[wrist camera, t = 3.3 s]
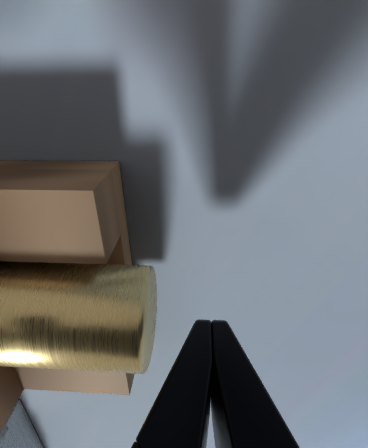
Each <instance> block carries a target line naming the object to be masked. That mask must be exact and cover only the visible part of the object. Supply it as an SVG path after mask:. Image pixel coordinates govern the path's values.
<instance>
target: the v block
mask: <svg viewBox="0 0 368 448" xmlns="http://www.w3.org/2000/svg"><path fill="white" fill-rule="evenodd" d="M0 448H43V446H42V444H41V442H40V439H39V437H38V435H37V433H36V431H35V429H34V427H33V425H32V423H31V421H30V419H29V417H28V415H27V413H26V411H25V409H24V407H23V405H22V403H21V401H20V400H17V402H16V404H15V406H14V408H13V409H12V411H11V413H10V415H9V416H8V418H7V420H6V422H5V424H4V425H3V427H2V429H1V431H0Z"/></svg>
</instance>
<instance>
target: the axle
mask: <svg viewBox="0 0 368 448" xmlns="http://www.w3.org/2000/svg"><path fill="white" fill-rule="evenodd" d="M156 312H157V285H156V276H155V271H154V268H153V267H152V266H147V265H113V264H79V263H45V262H11V261H0V366H6V367H25V368H43V369H62V370H80V371H99V372H117V373H135V374H144V373H145V372H146V371H147V368H148V366H149V362H150V359H151V354H152V349H153V343H154V336H155V326H156Z"/></svg>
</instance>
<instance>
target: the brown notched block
mask: <svg viewBox="0 0 368 448" xmlns="http://www.w3.org/2000/svg"><path fill="white" fill-rule="evenodd" d="M0 261H11V262H45V263H79V264H113V265H132V260H131V252H130V244H129V236H128V228H127V220H126V212H125V204H124V196H123V188H122V180H121V172H120V164H119V161H17V160H0ZM134 374H135V373H117V372H99V371H80V370H62V369H43V368H25V367H6V366H0V431H1V429H2V427H3V425H4V424H5V422H6V420H7V418H8V416H9V415H10V413H11V411H12V409H13V408H14V406H15V404H16V402H17V400H18V399H19V397H20V395H21V393H22V391H23V390H24V389H35V390H52V391H69V392H86V393H103V394H120V395H130V391H131V387H132V383H133V378H134Z"/></svg>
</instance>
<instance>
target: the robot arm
mask: <svg viewBox="0 0 368 448" xmlns="http://www.w3.org/2000/svg"><path fill="white" fill-rule="evenodd" d="M210 401H211V412H212V421H213V430H214V438H215V447H216V448H299V446H298V444H297V442H296V441H295V439H294V437H293V435H292V434H291V432H290V430H289V428H288V427H287V425H286V423H285V421H284V420H283V418H282V416H281V414H280V413H279V411H278V409H277V408H276V406H275V404H274V402H273V401H272V399H271V397H270V395H269V394H268V392H267V390H266V388H265V387H264V385H263V383H262V381H261V380H260V378H259V376H258V375H257V373H256V371H255V369H254V368H253V366H252V364H251V362H250V361H249V359H248V357H247V355H246V354H245V352H244V350H243V348H242V347H241V345H240V343H239V341H238V340H237V338H236V336H235V335H234V333H233V331H232V329H231V328H230V326H229V324H228V323H227V322H226V321H224V320H213V321H212V322H211V321H210V320H196V321H195V323H194V325H193V327H192V329H191V331H190V333H189V335H188V337H187V339H186V341H185V343H184V345H183V347H182V349H181V351H180V353H179V355H178V357H177V359H176V361H175V363H174V364H173V366H172V368H171V370H170V372H169V374H168V376H167V378H166V380H165V382H164V384H163V386H162V388H161V390H160V392H159V394H158V396H157V398H156V400H155V402H154V404H153V406H152V408H151V410H150V412H149V414H148V416H147V418H146V420H145V422H144V424H143V426H142V428H141V430H140V432H139V434H138V436H137V438H136V441H137V442H134V443H133V445H132V447H131V448H206V444H207V435H208V425H209V416H210Z"/></svg>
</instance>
